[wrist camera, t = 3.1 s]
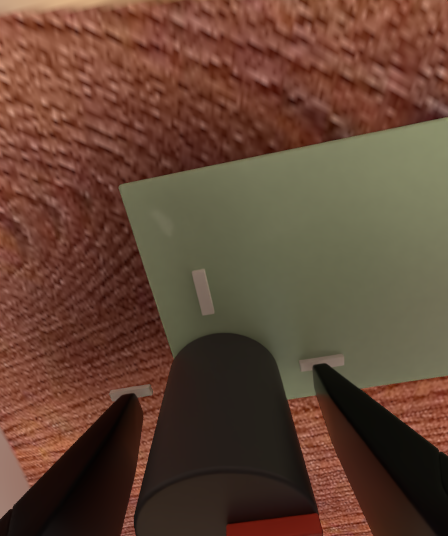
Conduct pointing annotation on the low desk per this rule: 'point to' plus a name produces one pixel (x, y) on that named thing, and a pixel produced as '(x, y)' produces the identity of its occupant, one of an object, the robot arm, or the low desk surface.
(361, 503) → the robot arm
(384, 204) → the dial panel
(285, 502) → the knob
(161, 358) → the low desk surface
